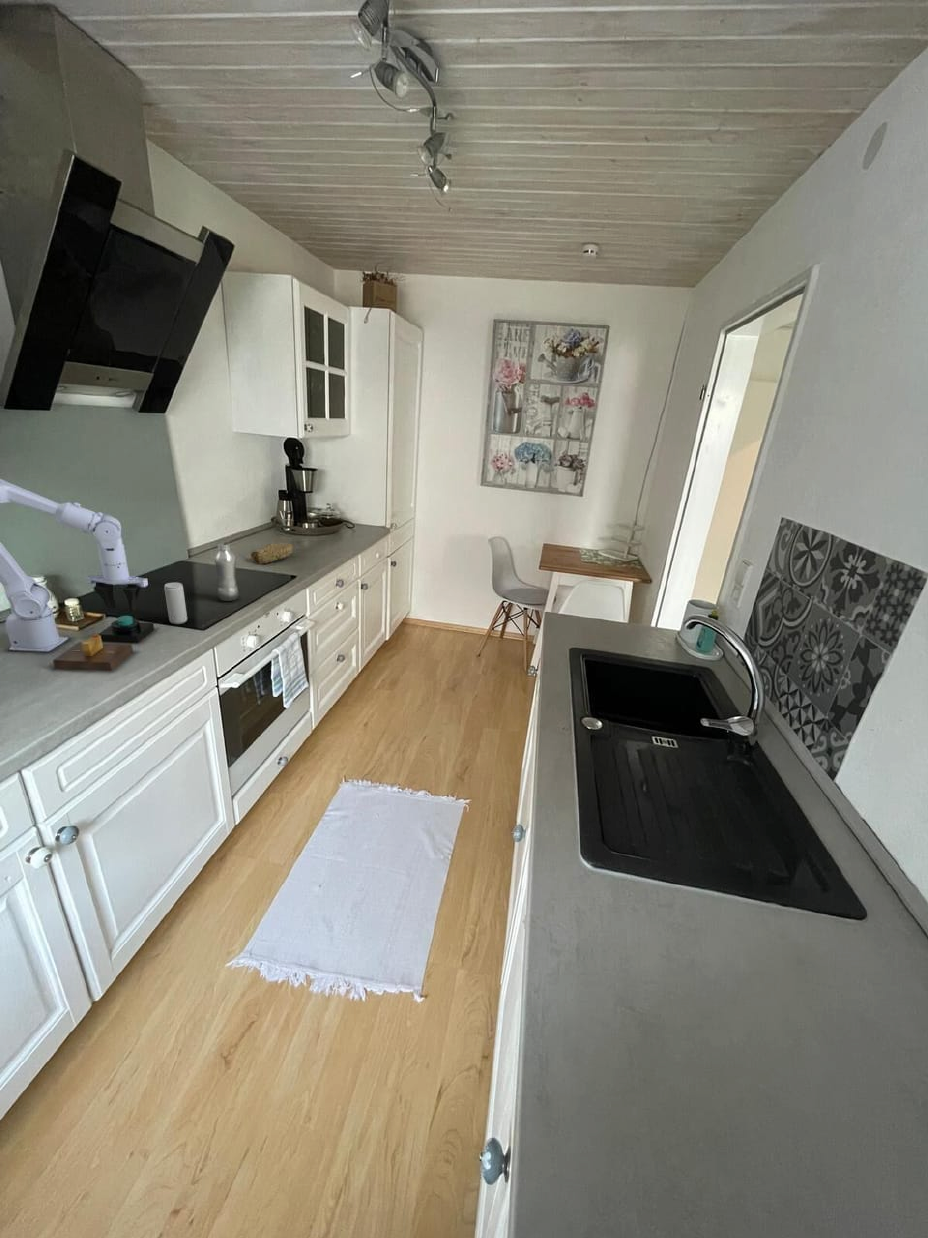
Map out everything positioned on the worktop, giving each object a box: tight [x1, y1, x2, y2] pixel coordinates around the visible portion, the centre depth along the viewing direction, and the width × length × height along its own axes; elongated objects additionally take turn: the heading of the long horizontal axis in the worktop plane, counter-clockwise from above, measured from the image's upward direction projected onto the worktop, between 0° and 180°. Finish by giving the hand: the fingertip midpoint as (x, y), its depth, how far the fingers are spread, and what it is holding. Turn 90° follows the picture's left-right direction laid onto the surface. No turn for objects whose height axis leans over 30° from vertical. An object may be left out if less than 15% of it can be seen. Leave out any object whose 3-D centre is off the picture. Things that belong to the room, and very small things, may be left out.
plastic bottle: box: [214, 541, 240, 602], centre depth 165 cm, size 6×7×20 cm
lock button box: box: [97, 617, 155, 644], centre depth 138 cm, size 10×9×4 cm
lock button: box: [116, 615, 133, 626], centre depth 137 cm, size 4×4×2 cm
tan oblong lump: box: [250, 542, 294, 565], centre depth 213 cm, size 13×8×20 cm
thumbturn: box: [82, 634, 103, 656], centre depth 123 cm, size 5×2×4 cm, turn 5°
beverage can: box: [164, 582, 188, 625], centre depth 147 cm, size 5×5×12 cm
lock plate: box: [52, 641, 134, 672], centre depth 124 cm, size 13×10×3 cm
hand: (122, 608), depth 135 cm, fingers open, 5 cm apart
